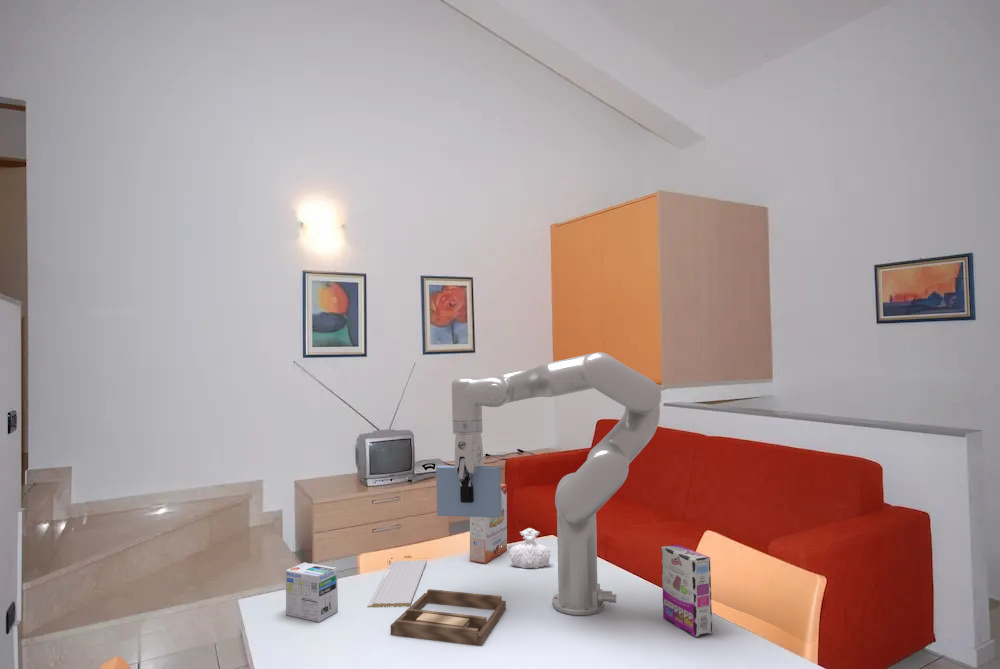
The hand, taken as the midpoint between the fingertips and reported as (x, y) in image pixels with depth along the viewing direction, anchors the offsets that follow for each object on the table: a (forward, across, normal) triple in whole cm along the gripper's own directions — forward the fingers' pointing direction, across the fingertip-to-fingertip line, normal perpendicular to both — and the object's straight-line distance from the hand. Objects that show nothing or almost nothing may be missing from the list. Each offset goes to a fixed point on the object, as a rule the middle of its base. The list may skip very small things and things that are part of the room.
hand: (469, 499), depth 151 cm
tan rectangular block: (+25, -18, +2) cm, 31 cm away
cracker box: (+25, +34, +5) cm, 43 cm away
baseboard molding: (+26, +8, +24) cm, 36 cm away
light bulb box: (+25, -15, +36) cm, 46 cm away
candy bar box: (+26, -3, -51) cm, 57 cm away
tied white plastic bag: (+25, +29, -9) cm, 39 cm away
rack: (+25, -11, +1) cm, 27 cm away
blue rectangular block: (+4, 0, 0) cm, 4 cm away
